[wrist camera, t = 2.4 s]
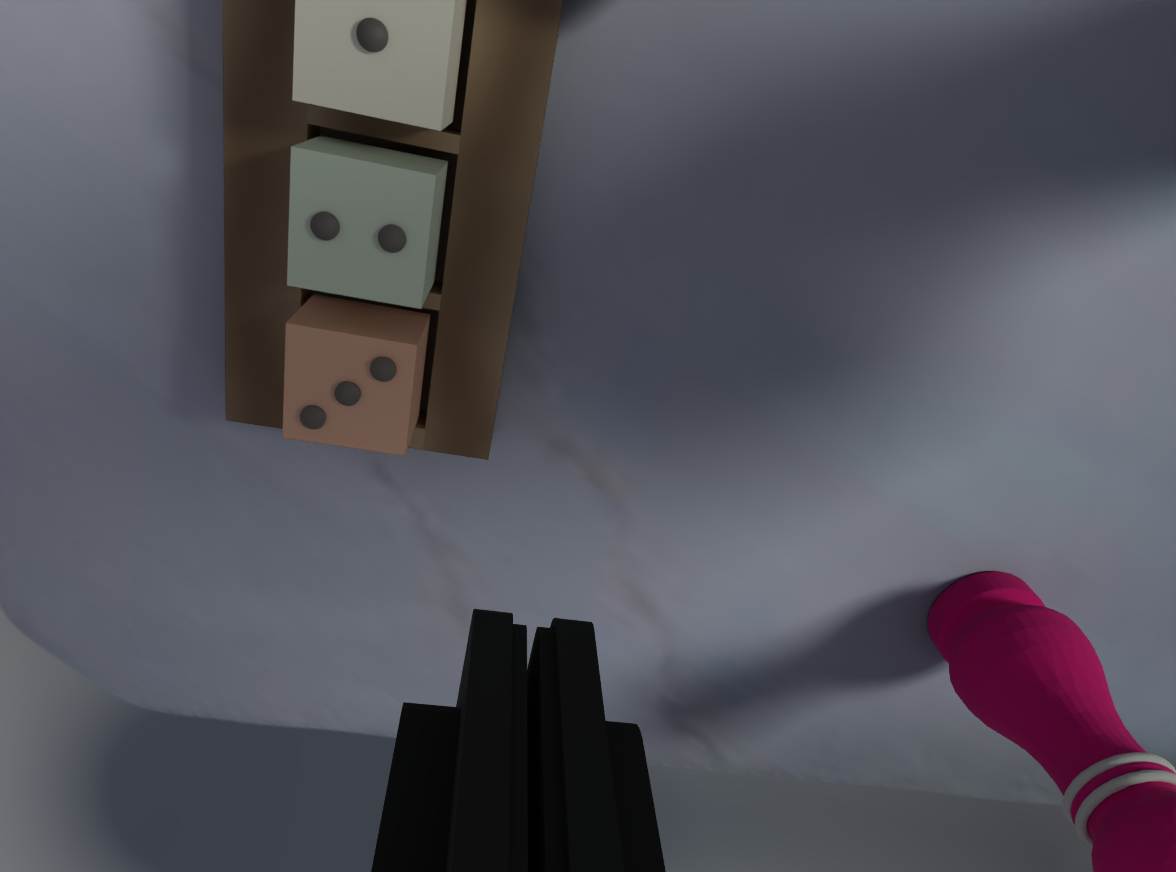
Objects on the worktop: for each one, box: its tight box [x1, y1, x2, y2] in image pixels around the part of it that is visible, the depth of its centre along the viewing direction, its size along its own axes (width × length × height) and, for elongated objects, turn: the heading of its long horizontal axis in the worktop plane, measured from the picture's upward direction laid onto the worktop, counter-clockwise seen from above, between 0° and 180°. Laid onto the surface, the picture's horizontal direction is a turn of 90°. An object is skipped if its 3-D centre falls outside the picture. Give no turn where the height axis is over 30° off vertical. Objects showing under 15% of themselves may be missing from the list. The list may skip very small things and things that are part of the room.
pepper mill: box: [928, 571, 1176, 872], centre depth 36 cm, size 7×7×20 cm
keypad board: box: [223, 0, 563, 460], centre depth 32 cm, size 12×21×2 cm, turn 169°
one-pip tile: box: [292, 0, 467, 131], centre depth 27 cm, size 5×5×4 cm
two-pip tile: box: [287, 136, 448, 309], centre depth 30 cm, size 5×5×4 cm
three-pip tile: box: [283, 294, 431, 456], centre depth 32 cm, size 5×5×4 cm
